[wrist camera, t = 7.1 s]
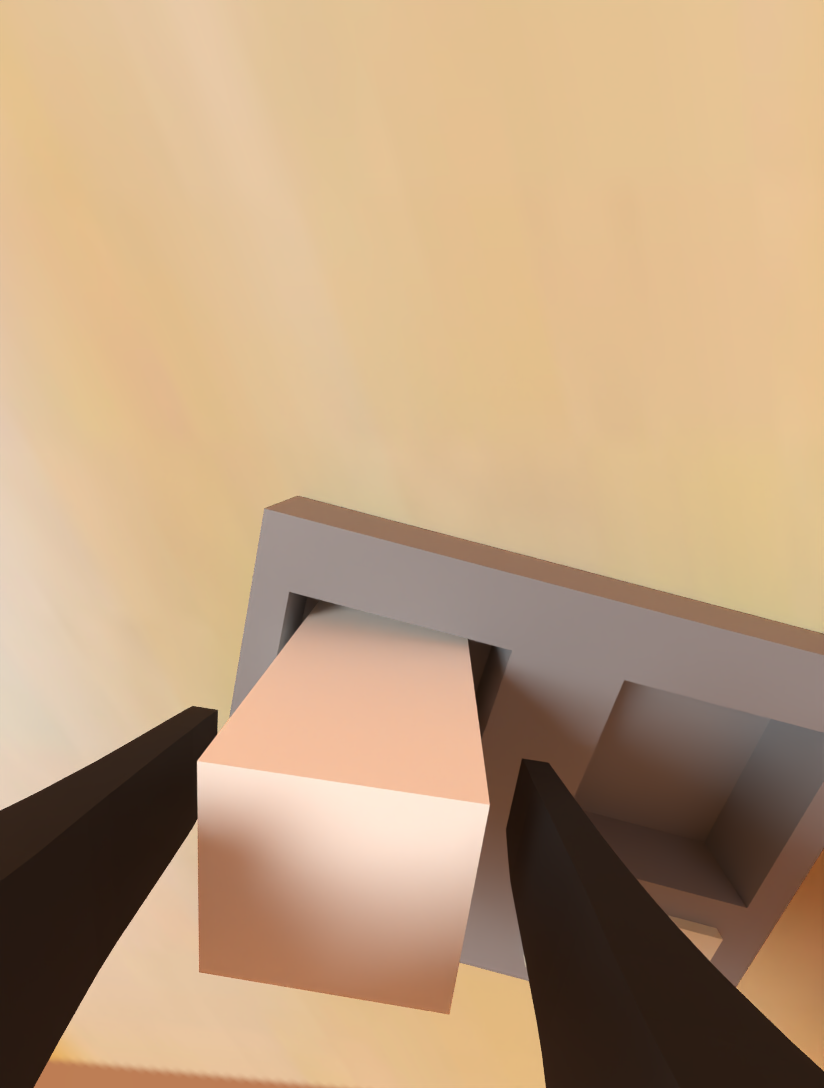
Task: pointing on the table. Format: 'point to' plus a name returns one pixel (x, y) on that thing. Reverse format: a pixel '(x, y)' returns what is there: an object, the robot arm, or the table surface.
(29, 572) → the table surface
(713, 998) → the robot arm
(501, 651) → the organiser tray
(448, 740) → the plug block
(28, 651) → the table surface
